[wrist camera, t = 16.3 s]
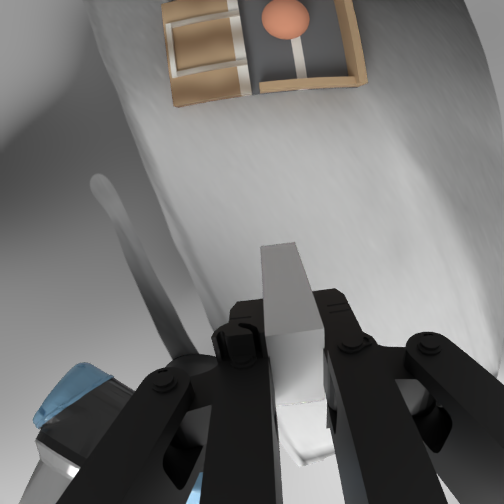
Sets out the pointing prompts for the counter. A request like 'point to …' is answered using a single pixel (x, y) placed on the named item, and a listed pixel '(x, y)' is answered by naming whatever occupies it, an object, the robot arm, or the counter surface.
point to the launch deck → (205, 51)
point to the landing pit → (304, 49)
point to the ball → (285, 19)
